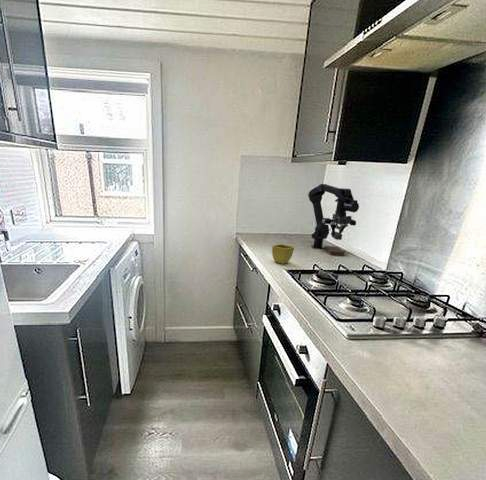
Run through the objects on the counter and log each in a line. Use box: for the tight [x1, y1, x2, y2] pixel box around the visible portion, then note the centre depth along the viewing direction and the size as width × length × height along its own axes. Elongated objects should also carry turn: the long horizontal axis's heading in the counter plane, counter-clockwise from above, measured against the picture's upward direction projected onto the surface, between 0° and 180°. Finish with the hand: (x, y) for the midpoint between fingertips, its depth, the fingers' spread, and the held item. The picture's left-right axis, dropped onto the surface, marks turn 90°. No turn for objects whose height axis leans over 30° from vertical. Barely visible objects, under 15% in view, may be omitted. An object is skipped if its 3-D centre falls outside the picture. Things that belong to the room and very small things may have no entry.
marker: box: [330, 231, 343, 241], centre depth 187 cm, size 11×3×3 cm, turn 176°
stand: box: [323, 245, 346, 257], centre depth 191 cm, size 14×8×2 cm, turn 177°
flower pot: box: [271, 243, 295, 265], centre depth 164 cm, size 9×9×9 cm
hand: (336, 235), depth 187 cm, fingers closed on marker, 3 cm apart
